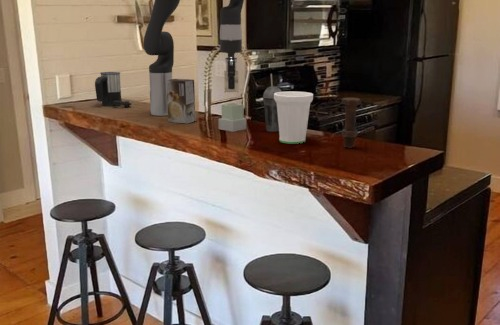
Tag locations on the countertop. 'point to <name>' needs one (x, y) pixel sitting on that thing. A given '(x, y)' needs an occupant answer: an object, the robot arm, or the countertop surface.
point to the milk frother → (109, 89)
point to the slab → (232, 124)
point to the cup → (293, 115)
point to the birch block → (227, 82)
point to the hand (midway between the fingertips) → (231, 87)
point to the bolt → (350, 121)
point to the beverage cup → (271, 108)
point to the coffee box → (181, 100)
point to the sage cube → (232, 111)
